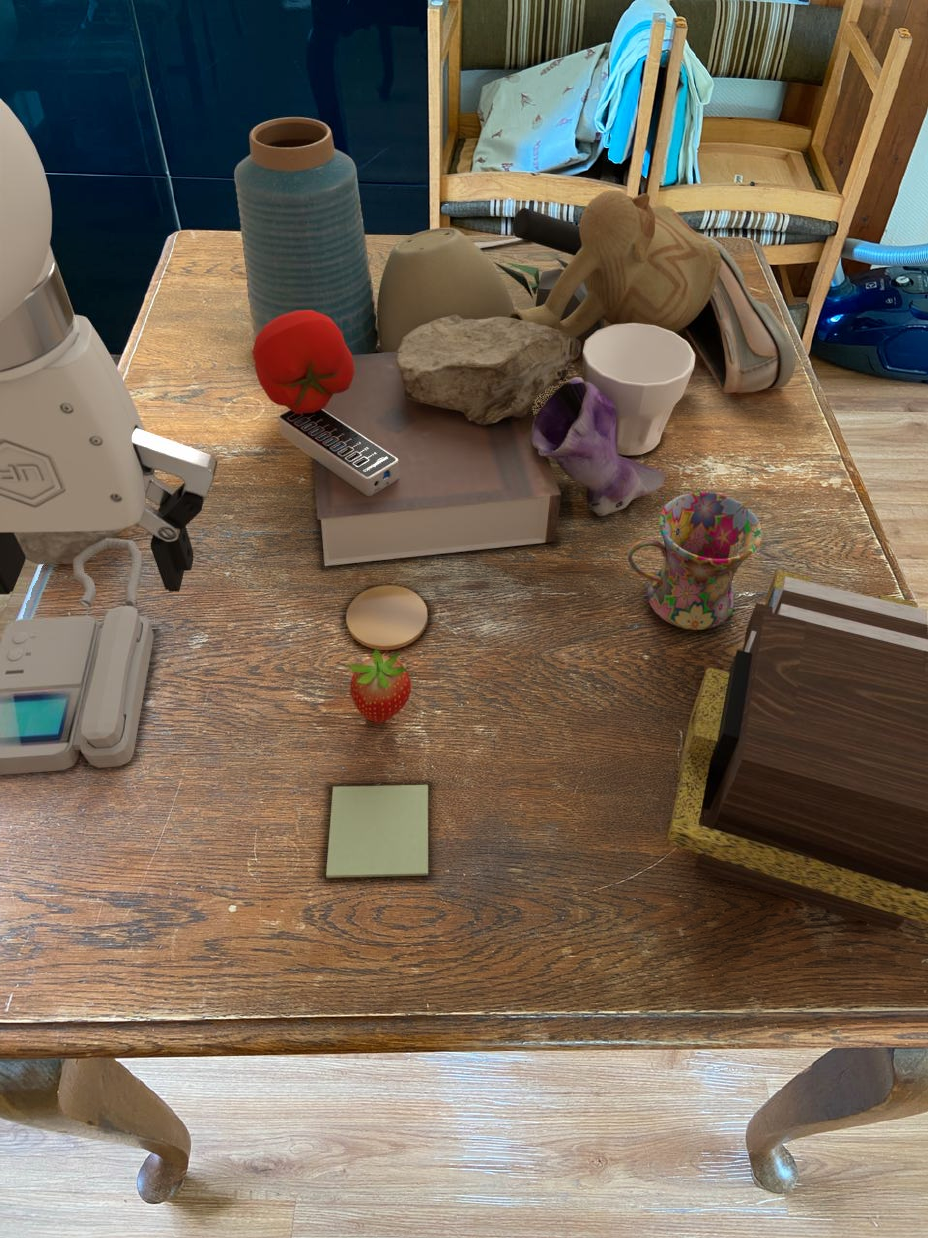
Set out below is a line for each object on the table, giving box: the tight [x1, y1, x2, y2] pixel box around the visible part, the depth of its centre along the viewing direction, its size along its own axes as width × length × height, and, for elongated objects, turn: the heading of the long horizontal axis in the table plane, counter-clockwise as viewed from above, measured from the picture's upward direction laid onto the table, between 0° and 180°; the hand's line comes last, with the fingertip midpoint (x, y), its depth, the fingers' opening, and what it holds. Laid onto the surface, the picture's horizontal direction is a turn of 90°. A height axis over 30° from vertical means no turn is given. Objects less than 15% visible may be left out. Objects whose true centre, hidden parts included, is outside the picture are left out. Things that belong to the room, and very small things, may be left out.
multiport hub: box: [277, 409, 399, 496], centre depth 94 cm, size 4×14×2 cm, turn 45°
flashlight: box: [512, 207, 582, 257], centre depth 124 cm, size 5×24×5 cm
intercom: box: [0, 538, 155, 775], centre depth 84 cm, size 13×4×25 cm
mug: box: [626, 491, 763, 631], centre depth 86 cm, size 12×9×11 cm
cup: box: [582, 323, 696, 456], centre depth 104 cm, size 12×12×11 cm
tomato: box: [252, 310, 354, 414], centre depth 92 cm, size 10×11×6 cm
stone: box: [14, 472, 157, 565], centre depth 94 cm, size 17×17×15 cm
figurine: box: [532, 376, 666, 517], centre depth 98 cm, size 9×10×15 cm
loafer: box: [680, 232, 797, 394], centre depth 118 cm, size 11×30×9 cm
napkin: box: [325, 784, 429, 879], centre depth 74 cm, size 8×8×1 cm
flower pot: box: [376, 227, 515, 353], centre depth 115 cm, size 18×18×12 cm
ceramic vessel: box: [509, 190, 722, 338], centre depth 109 cm, size 17×20×25 cm
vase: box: [233, 116, 379, 355], centre depth 110 cm, size 16×16×27 cm
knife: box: [473, 237, 523, 249], centre depth 139 cm, size 19×2×1 cm, turn 107°
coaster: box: [345, 584, 429, 651], centre depth 89 cm, size 8×8×1 cm
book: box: [312, 352, 562, 567], centre depth 101 cm, size 24×28×6 cm
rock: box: [396, 314, 581, 426], centre depth 101 cm, size 16×10×20 cm
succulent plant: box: [491, 257, 605, 353], centre depth 123 cm, size 16×20×9 cm
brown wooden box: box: [666, 568, 928, 932], centre depth 72 cm, size 21×15×30 cm
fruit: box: [347, 648, 412, 723], centre depth 78 cm, size 5×5×8 cm
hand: (95, 575), depth 54 cm, fingers open, 9 cm apart
